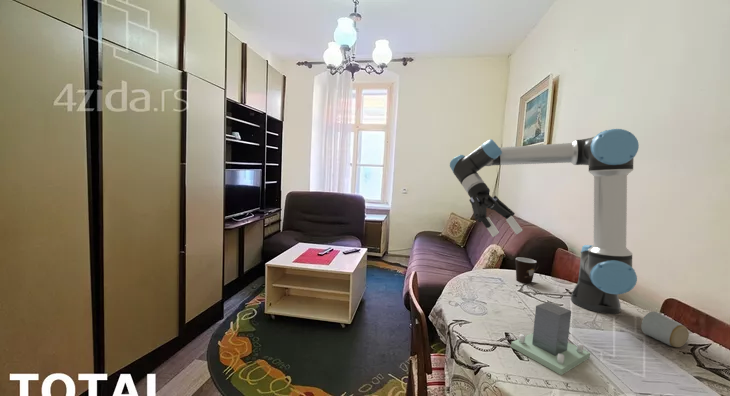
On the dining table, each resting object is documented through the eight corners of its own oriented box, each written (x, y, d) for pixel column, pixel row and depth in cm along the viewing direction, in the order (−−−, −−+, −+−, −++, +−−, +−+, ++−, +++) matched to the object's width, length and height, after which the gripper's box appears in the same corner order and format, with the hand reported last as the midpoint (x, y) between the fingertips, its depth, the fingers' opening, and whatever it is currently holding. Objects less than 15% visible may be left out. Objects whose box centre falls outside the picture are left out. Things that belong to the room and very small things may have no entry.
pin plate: (540, 334, 91) (541, 323, 91) (589, 357, 80) (591, 345, 80) (510, 347, 83) (512, 335, 83) (561, 375, 72) (562, 361, 72)
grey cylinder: (671, 350, 86) (675, 324, 85) (638, 335, 94) (642, 311, 93) (696, 347, 88) (700, 322, 88) (663, 332, 96) (666, 309, 95)
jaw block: (544, 338, 86) (548, 301, 85) (567, 350, 80) (571, 310, 80) (532, 344, 82) (536, 305, 82) (555, 356, 77) (559, 315, 76)
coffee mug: (517, 283, 135) (519, 261, 135) (511, 277, 144) (513, 256, 143) (544, 286, 134) (547, 264, 133) (537, 279, 142) (539, 259, 141)
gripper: (489, 194, 125) (520, 237, 114) (447, 194, 112) (477, 242, 101) (502, 182, 120) (536, 225, 109) (459, 180, 108) (493, 229, 96)
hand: (508, 233), depth 105 cm, fingers open, 13 cm apart
